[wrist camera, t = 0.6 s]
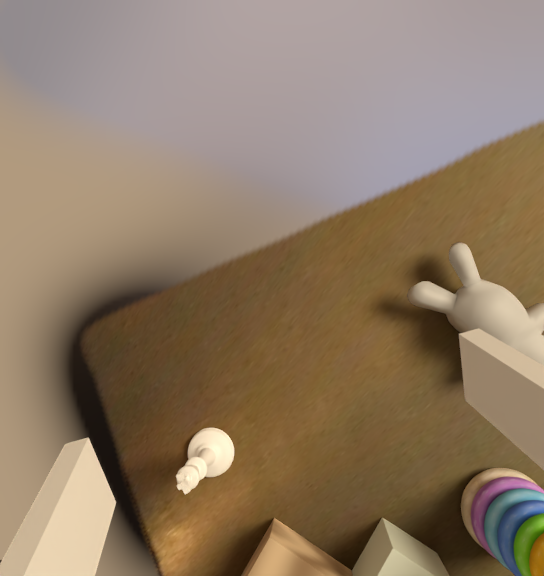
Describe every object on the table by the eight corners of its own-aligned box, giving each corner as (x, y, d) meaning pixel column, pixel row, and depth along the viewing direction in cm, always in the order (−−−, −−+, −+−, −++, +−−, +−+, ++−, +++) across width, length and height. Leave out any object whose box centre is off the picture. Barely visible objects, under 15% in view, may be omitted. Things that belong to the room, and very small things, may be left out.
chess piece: (202, 484, 43) (167, 529, 33) (181, 441, 44) (141, 472, 34) (242, 461, 43) (219, 500, 33) (220, 419, 43) (192, 444, 34)
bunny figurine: (529, 417, 37) (406, 301, 37) (498, 403, 42) (391, 301, 42) (601, 341, 37) (478, 226, 37) (562, 336, 42) (455, 235, 42)
